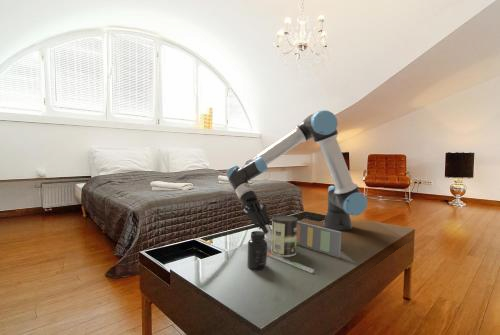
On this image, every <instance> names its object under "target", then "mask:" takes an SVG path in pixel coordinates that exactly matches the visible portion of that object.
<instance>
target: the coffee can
mask: <svg viewBox="0 0 500 335" xmlns="http://www.w3.org/2000/svg"><path fill="white" fill-rule="evenodd" d="M271 220H272V221H271V229H272V241H271V248H270V249H271V250H270V251H271V252H270V253H273V254H275V255H278V256H280V257H283V258H291V257H294V256H296V255H297V244H296V243H297V221H299V220H298V217H296V216H293V215H289V214H288V215H287V214H278V215H277V214H276V215H272V217H271Z"/></svg>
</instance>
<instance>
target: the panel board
mask: <svg viewBox="0 0 500 335" xmlns="http://www.w3.org/2000/svg"><path fill="white" fill-rule="evenodd" d="M297 245H298V246H300V247H304V248H307V249H311V250H313V251H316V252H320V253H322V254H325V255H329V256H332V257H334V258H338V259H339V258H341V248H342V231H341V230H335V229H330V228H327V227H324V226H318V225H315V224H311V223H307V222H303V221H299V220H298V221H297V243H296V246H297Z"/></svg>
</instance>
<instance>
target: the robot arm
mask: <svg viewBox="0 0 500 335" xmlns="http://www.w3.org/2000/svg"><path fill="white" fill-rule="evenodd" d="M337 127H338V119H337V117H336V115H335V114H334V113H333V112H332V111H330V110H325V109H324V110H323V109H322V110H319V111H316V112H314V113H313V114H310V115H308V116H307V117H306V118H305V119H303V120H302V121H301V122H300V123H299V124H297V125H296V126H294V130H292V131H290V132H289V133H287V134H286V135H284V136H283V137H281V138H280V139H279V140H277V141H275V142H274V143H272V145H269V146H268V147H267V148H265V149H264V150H262V151H261V152H259V153H258V154H257V155H255V156H254V157H252V158H251V159H249V160H247V161H246V162H245V164H244V165H243V166H241V167H239V165H233V166H231V167H229V168H228V169H227V170H226V177H227V180H228V182H229V183H230V185H231V187H232V188H233V190H234V192H235V193H236V196H237V197H238V199H239V201H240V203H241V204H242V206H244V208H243V210H242V212H243V213H244V214H245V215H246V216H247V217H248V218H249V220H250V221H251V222H252V224H253V225H254V226H255V227H256V228H257V229H259V230H261V231H262V232H264V233H265V237H266V238H267V239H268V241H269V242H272V227H271V226H270V224H271V223H272V221H271V219H270V216H269V213H268V211H267V207H266V204H265V203H263V204H261V203H260V201H258V196H257V194H256V193H255V191H253V190H254V189H253V188H252V187H251V184H250V183H249V181H251V180H253V179H255V178H256V177H257V176H260V175H261V174H263V173H264V172H266V171H268V169H269V167H268V165H269V164H272V163H273V162H274V161H275V160H277V159H279V158H281V157H282V156H283V155H284V154H286V153H287V152H289V151H290V150H292V149H294V148H295V147H296V146H297V145H299V144H301V143H303V142H307V141H309V140H310V139H312V138H313V140H314V143H316V144H318V145H319V149H320V150H321V153H322V155H323V157H324V160H325V163H326V166H327V169H328V171H329V173H330V176H331V179H332V182H333V184H334V185H330V186H328V190H327V210H326V215H325V217H324V220H323V227H324V228H327V229H332V230H336V231H350V230H352V229H353V222H352V219H351V216H354V217H355V216H359V215H362V214H363V213H364V212H365V211H366V209H367V206H368V199H367V197H366V195H365V194H364V193H363V192H362V193H361V190H360V188H359V185H358V184H357V183H355V182H354V181H353V179H352V176H351V173H350V171H349V169H348V166H347V163H346V160H345V158H344V155H343V152H342V149H341V147H340V145H339V142H338V140H337V139H338V138H337V137H338V135H339V132H338V130H337ZM350 215H351V216H350Z"/></svg>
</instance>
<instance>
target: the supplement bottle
mask: <svg viewBox="0 0 500 335" xmlns="http://www.w3.org/2000/svg"><path fill="white" fill-rule="evenodd" d="M265 238H266V234H265V233H264V232H263V231H262V230H261V231H260V230H253V231H251V233H250V239H249V240H248V241H247V258H246V259H247V263H246V264H247V267H248V268H249V269H250V270H253V271H262V270H265V269H266V268H267V264H268V259H267V258H268V256H267V252H268V242H267V240H265Z"/></svg>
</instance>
